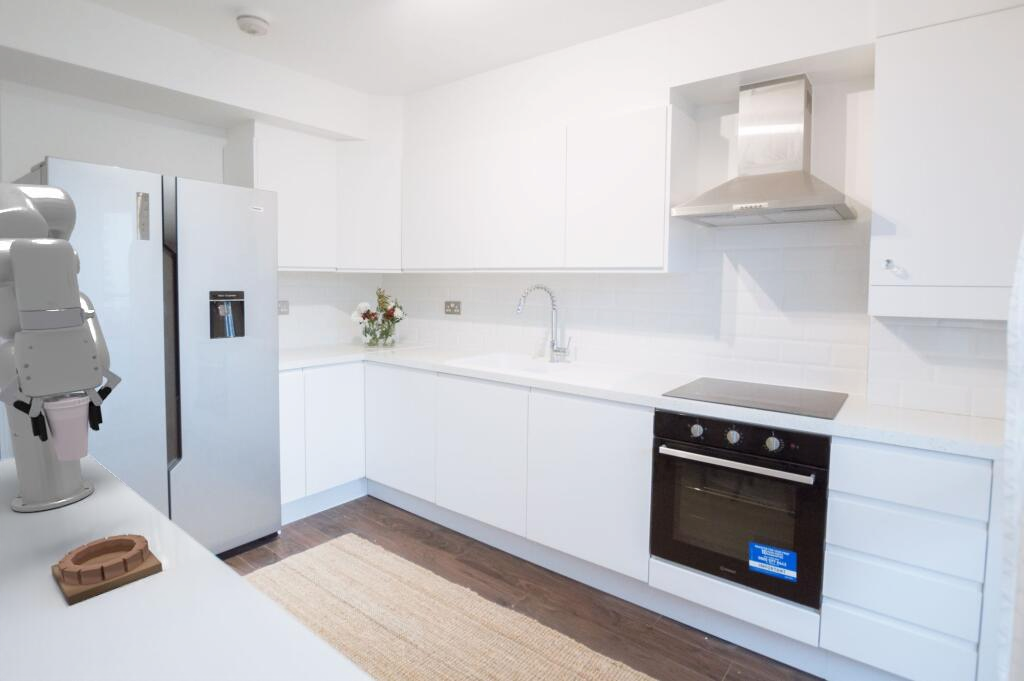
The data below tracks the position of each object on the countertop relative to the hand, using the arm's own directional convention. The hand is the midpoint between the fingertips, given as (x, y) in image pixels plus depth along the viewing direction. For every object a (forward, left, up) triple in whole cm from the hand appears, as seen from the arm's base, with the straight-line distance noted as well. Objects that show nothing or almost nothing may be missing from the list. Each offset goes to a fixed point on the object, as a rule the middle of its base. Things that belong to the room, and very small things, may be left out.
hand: (69, 433), depth 90 cm
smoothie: (0, 0, -4) cm, 4 cm away
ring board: (+13, 0, -19) cm, 23 cm away
